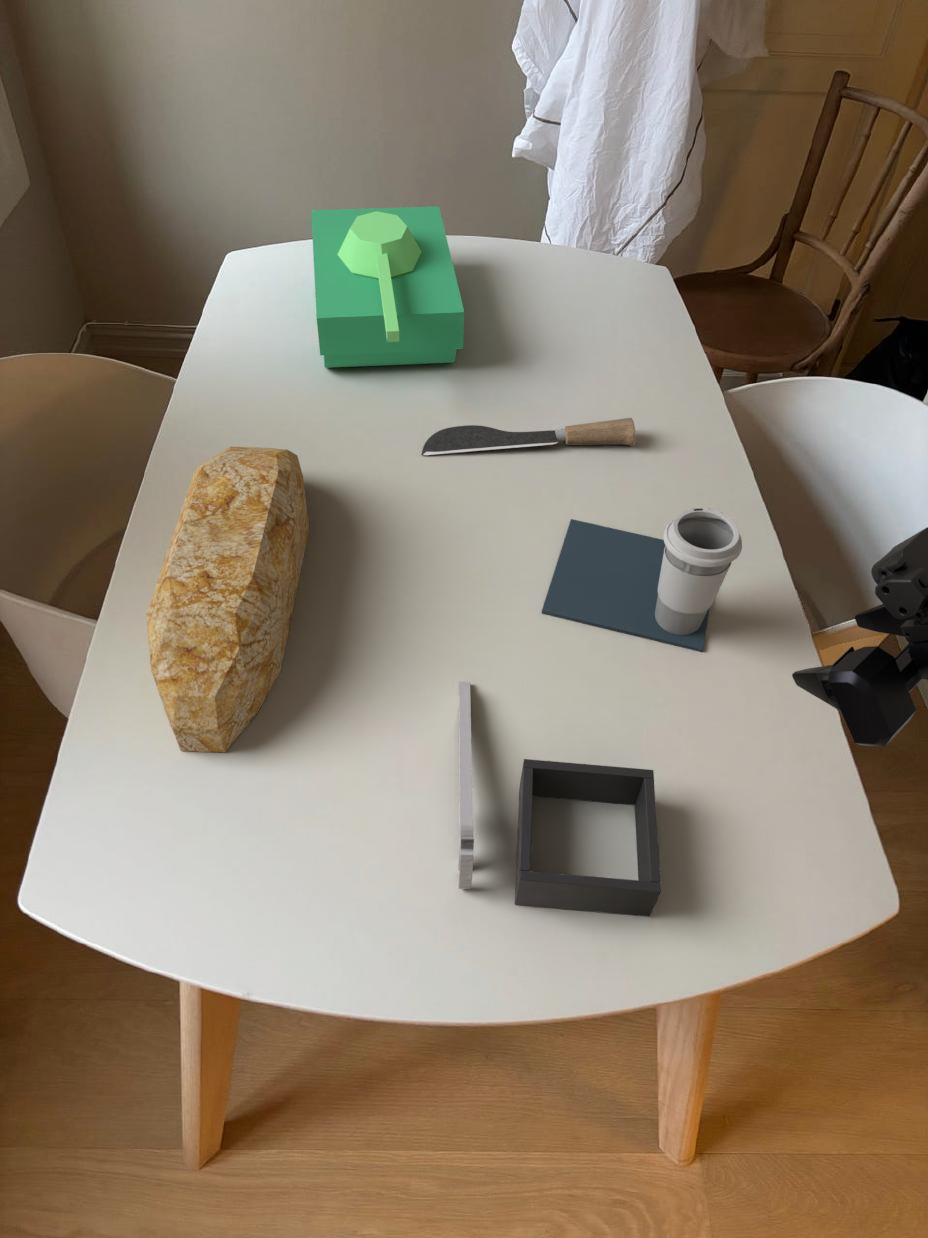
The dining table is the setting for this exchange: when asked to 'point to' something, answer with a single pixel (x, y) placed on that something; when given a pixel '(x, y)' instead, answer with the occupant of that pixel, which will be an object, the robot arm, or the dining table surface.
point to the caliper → (465, 789)
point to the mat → (612, 583)
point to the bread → (228, 594)
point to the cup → (694, 567)
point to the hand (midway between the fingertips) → (826, 648)
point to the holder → (593, 787)
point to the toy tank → (385, 287)
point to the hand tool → (528, 437)
